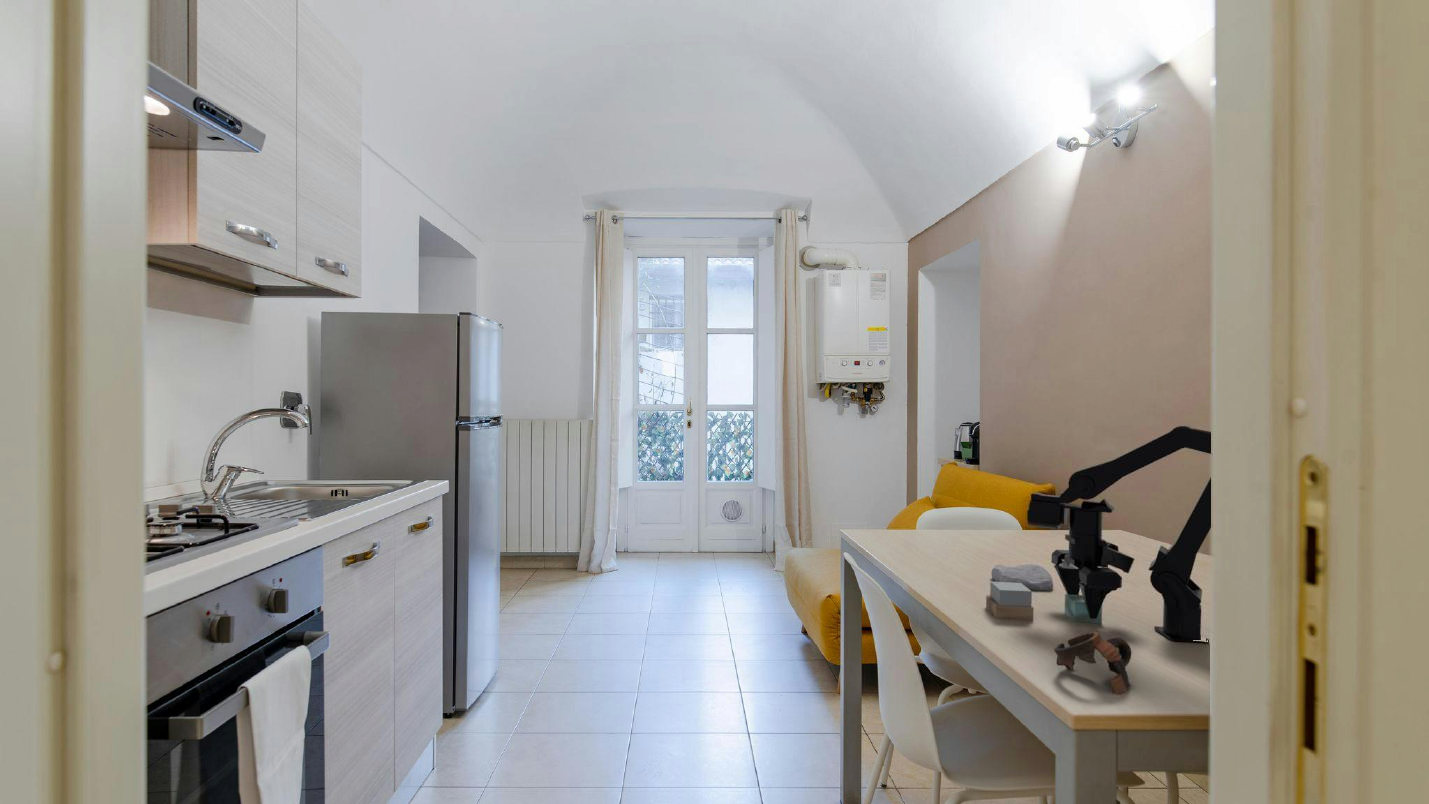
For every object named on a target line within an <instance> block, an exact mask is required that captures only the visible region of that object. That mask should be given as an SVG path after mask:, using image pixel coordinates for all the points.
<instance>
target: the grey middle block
mask: <svg viewBox="0 0 1429 804" xmlns="http://www.w3.org/2000/svg"><path fill="white" fill-rule="evenodd" d="M989 587H990V591H989V592H990V593H989V595H990V596H991V597H992V598H993V599H994V600H995V601H996V602H997V603H998V604H999V605H1005V606H1029V607H1031V606H1032V600H1033V597H1032V594H1033V593H1032V590H1031V589H1028V588H1027V587H1026V586H1024V585H1023V584H1022V583H1012V582H996V581H990V586H989Z"/></svg>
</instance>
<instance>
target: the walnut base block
mask: <svg viewBox="0 0 1429 804" xmlns="http://www.w3.org/2000/svg"><path fill="white" fill-rule="evenodd" d="M985 597H986V598H985V601H986V602H985V603H986V604H985V608H986V609H987V610H988V611H989V613H990V614H991V613H992V614H991V615H992V616H993V615H994V616H993V617H994V618H995V619H997V618H998V619H997V620H999V619H1001V620H1013V619H1014V620H1013V621H1033V622H1034V606H1033V605H1031V607H1029V606H1005V605H999V604H998V603H997V602H996V601H995V600H994V599H993V598H992V597H991V596H990V594H986V596H985Z"/></svg>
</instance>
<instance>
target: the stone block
mask: <svg viewBox="0 0 1429 804" xmlns="http://www.w3.org/2000/svg"><path fill="white" fill-rule="evenodd" d="M991 579H992V580H994V582H1012V583H1022V584H1023V585H1024V586H1026V587H1027V588H1028V589H1029V590H1031V589H1035V590H1034V591H1041V590H1042V591H1052V590H1054V583H1053V581H1054V580H1053V578H1052V575H1051V574H1050V572H1049V571H1048V570H1047V569H1046V568H1045V567H1043V566H1041V565H1038V564H1020V565H1018V566H1005V565H1003V564H996V565H995V566H993V568H992V569H991Z"/></svg>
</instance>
